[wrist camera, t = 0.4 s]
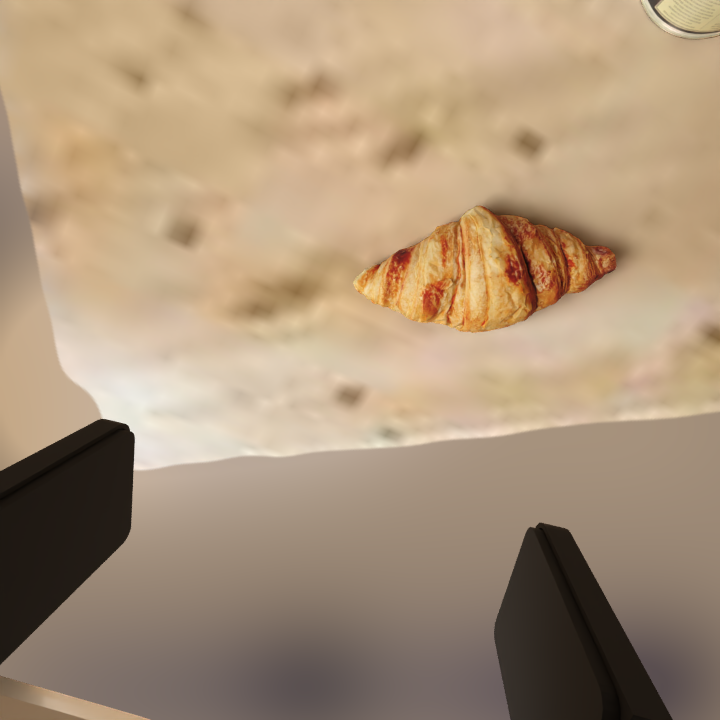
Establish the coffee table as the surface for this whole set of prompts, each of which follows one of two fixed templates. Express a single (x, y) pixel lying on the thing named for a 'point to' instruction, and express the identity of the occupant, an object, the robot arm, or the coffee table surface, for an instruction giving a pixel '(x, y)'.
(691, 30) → the coffee can
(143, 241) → the coffee table surface
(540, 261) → the croissant
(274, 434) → the coffee table surface
